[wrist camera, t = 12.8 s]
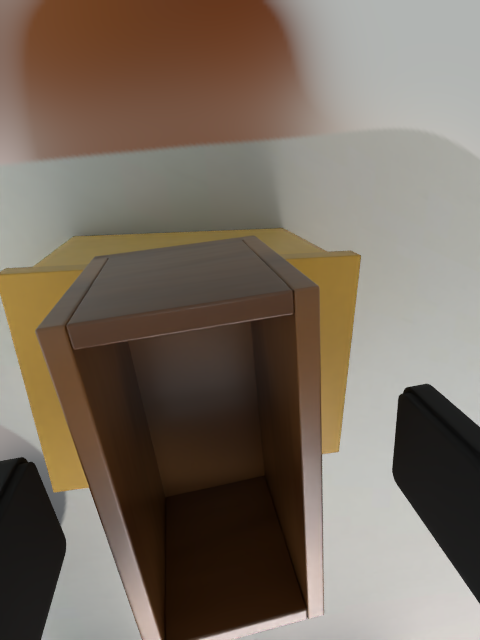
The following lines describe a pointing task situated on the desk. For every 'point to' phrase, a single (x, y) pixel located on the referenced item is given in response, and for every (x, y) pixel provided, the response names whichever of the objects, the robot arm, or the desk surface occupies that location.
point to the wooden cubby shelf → (199, 431)
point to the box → (74, 255)
